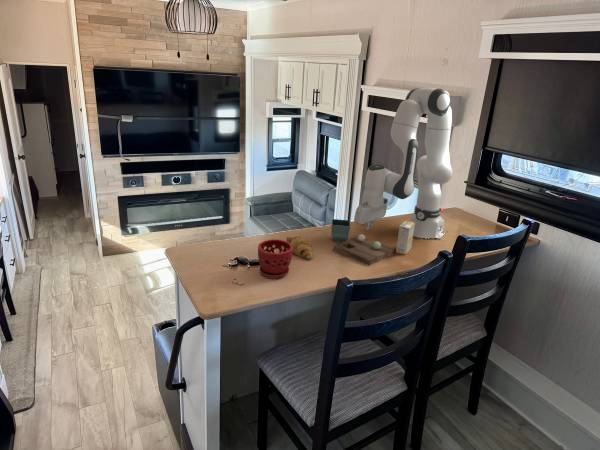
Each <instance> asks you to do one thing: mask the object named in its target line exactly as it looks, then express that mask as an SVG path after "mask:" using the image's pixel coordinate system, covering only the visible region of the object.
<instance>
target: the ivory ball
mask: <svg viewBox="0 0 600 450" xmlns="http://www.w3.org/2000/svg"><path fill="white" fill-rule="evenodd" d="M357 236H358V240H359V241H364V240H365V239H366V235H364V234H363V233H362V234H359V235H357Z"/></svg>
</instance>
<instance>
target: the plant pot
mask: <svg viewBox="0 0 600 450" xmlns="http://www.w3.org/2000/svg"><path fill="white" fill-rule="evenodd" d="M273 246H274V247H273ZM275 250H278V251H279V252H275ZM292 258H293V253H292V245H291V244H290V243H288V242H287V240H282V239H277V238H276V239H275V238H274V239H267V240H263V241H261V242H260V243H258V245H257V259H258V263H259V265H260V266H259V270H258V271H259V272H260V274H261V275H262V276H264V277H265V278H269V279H282V278H284V277H286V276H288V274H289V273H290V267H289V266H290V265H291V262H292Z"/></svg>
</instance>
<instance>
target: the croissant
mask: <svg viewBox="0 0 600 450" xmlns="http://www.w3.org/2000/svg"><path fill="white" fill-rule="evenodd" d="M286 242H288V243H290V244H291V245H292V255H295V256H298V257H300V258H305V259H306V260H312V259H314V250H313V247H312V245H311V244H310V242H309V240H308V239H306V238H305V237H303V236H300V235H299V236H295V237H286Z"/></svg>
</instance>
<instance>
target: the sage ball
mask: <svg viewBox="0 0 600 450" xmlns="http://www.w3.org/2000/svg"><path fill="white" fill-rule="evenodd" d="M374 242H375V243H374V244H373V247H374V248H375V249H380V248H381V245H382V244H381V242H379V241H374Z"/></svg>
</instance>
